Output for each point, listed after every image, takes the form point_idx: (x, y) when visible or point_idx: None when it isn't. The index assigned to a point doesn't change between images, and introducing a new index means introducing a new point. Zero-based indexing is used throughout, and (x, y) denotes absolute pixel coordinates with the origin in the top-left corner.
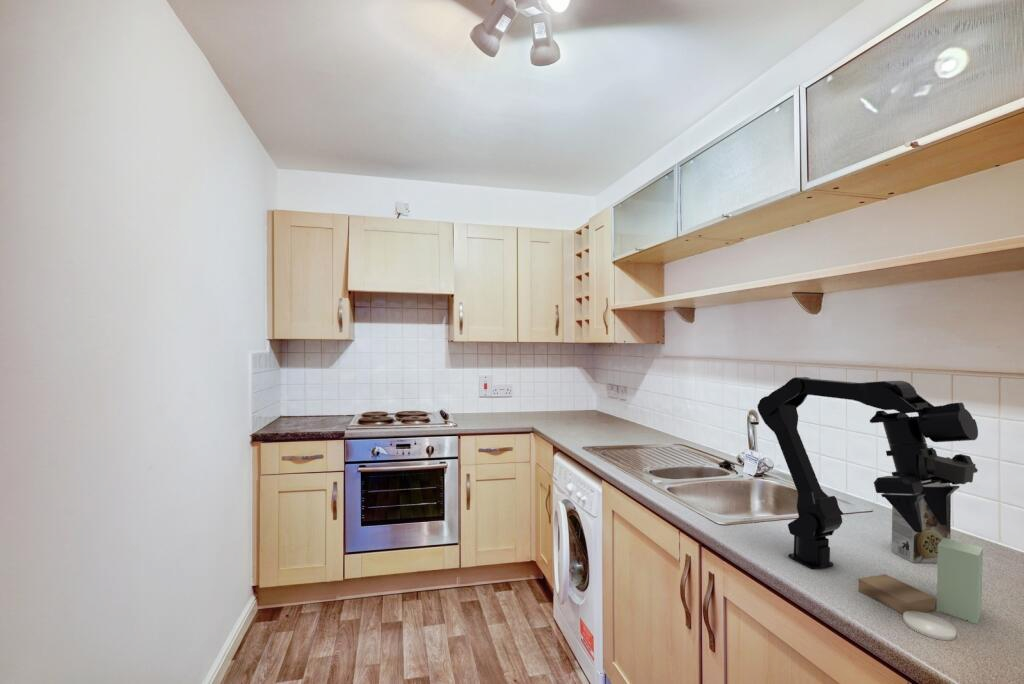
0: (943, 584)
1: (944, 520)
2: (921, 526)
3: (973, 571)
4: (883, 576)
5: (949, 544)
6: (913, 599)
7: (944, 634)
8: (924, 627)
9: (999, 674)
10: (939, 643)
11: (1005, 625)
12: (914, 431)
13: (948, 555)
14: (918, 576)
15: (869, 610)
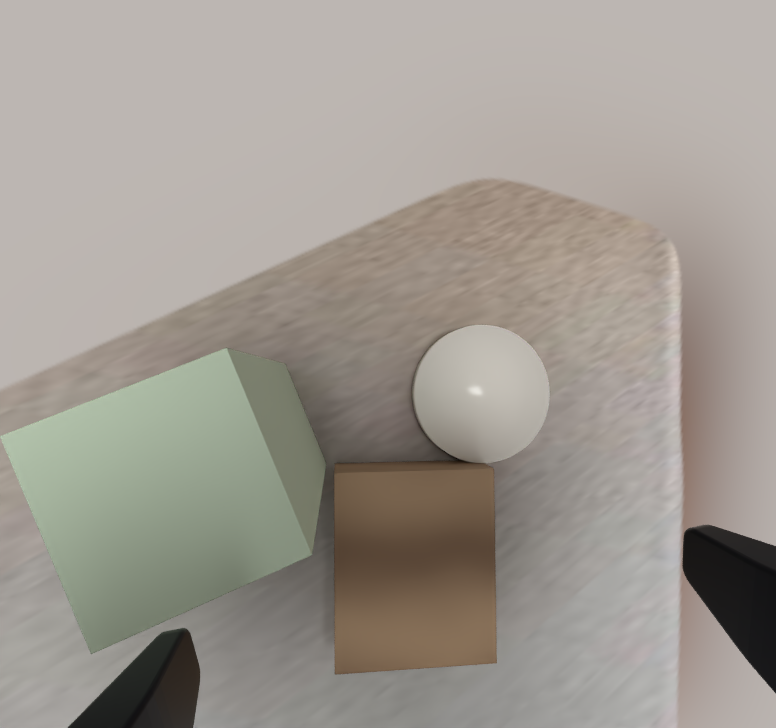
0: (314, 466)
1: (176, 676)
2: (746, 549)
3: (257, 373)
4: (365, 658)
5: (212, 539)
6: (444, 481)
7: (510, 331)
8: (531, 376)
9: (525, 187)
10: (534, 327)
11: (188, 332)
12: None
13: (295, 485)
14: (88, 681)
15: (568, 520)
